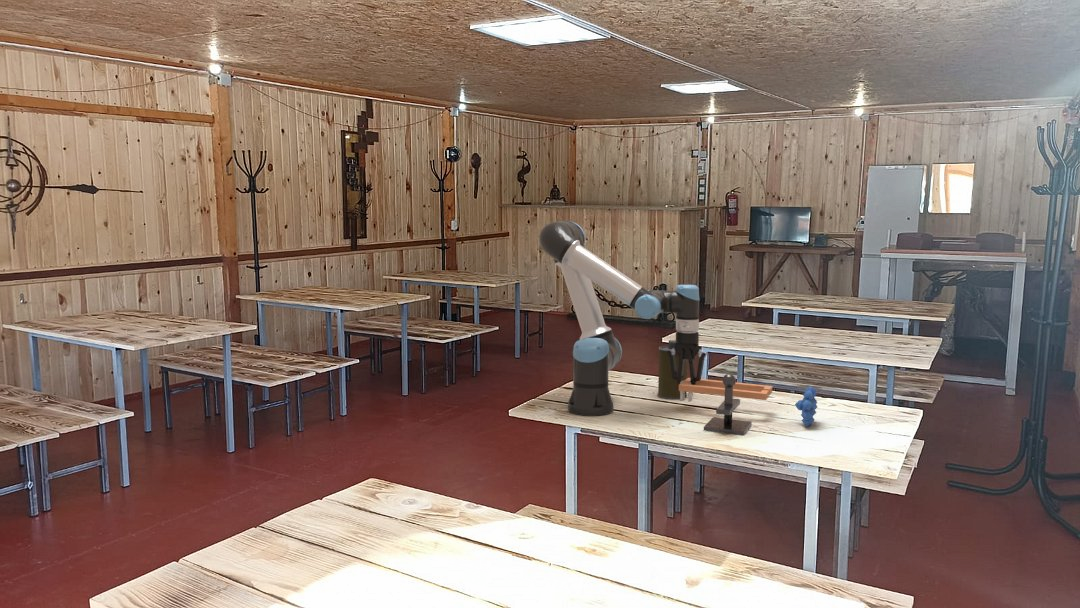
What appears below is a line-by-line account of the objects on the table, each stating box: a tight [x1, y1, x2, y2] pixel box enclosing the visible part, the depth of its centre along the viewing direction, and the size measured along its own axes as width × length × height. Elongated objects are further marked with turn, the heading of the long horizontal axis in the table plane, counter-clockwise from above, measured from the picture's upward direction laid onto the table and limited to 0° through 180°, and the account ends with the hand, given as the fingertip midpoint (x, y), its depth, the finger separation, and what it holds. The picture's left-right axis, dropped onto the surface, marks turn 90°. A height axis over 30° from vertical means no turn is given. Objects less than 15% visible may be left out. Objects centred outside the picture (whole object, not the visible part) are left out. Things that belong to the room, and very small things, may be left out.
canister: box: [657, 339, 688, 400], centre depth 282 cm, size 11×10×20 cm
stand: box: [703, 373, 753, 436], centre depth 241 cm, size 12×15×17 cm
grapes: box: [794, 385, 818, 427], centre depth 245 cm, size 12×7×12 cm, turn 152°
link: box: [679, 377, 773, 401], centre depth 259 cm, size 28×12×2 cm, turn 65°
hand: (686, 400), depth 265 cm, fingers closed on link, 2 cm apart
